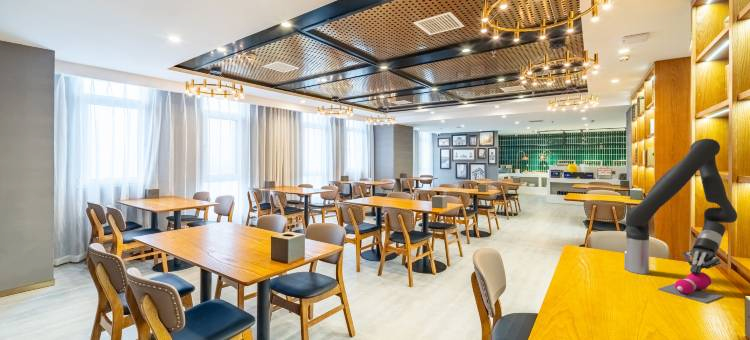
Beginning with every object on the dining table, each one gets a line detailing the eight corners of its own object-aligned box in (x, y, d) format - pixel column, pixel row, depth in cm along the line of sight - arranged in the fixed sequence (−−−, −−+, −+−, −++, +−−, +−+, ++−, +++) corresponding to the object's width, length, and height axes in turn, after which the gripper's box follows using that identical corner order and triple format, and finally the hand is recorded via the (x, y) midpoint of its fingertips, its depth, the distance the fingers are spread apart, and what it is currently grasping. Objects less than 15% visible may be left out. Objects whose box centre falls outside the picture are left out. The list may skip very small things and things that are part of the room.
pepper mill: (717, 280, 141) (694, 290, 133) (705, 290, 145) (682, 301, 137) (699, 267, 146) (675, 276, 138) (687, 277, 150) (664, 287, 142)
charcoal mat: (657, 289, 145) (657, 288, 145) (675, 284, 151) (675, 283, 151) (706, 303, 131) (706, 302, 131) (723, 297, 137) (723, 295, 137)
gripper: (686, 234, 152) (671, 264, 147) (725, 240, 140) (711, 272, 135) (691, 244, 154) (678, 274, 149) (731, 251, 142) (717, 283, 137)
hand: (694, 273), depth 142 cm, fingers closed
